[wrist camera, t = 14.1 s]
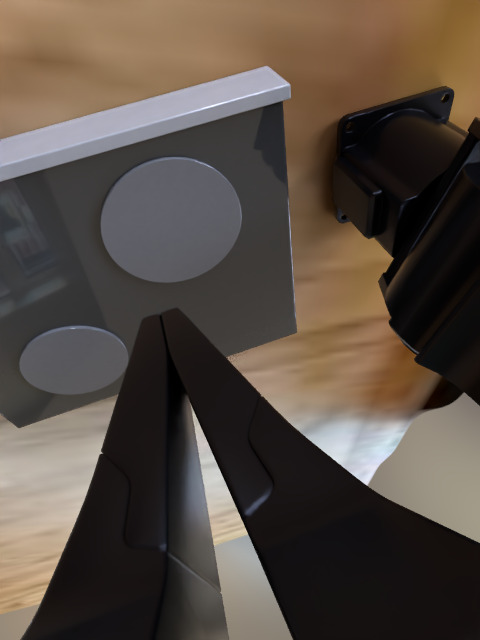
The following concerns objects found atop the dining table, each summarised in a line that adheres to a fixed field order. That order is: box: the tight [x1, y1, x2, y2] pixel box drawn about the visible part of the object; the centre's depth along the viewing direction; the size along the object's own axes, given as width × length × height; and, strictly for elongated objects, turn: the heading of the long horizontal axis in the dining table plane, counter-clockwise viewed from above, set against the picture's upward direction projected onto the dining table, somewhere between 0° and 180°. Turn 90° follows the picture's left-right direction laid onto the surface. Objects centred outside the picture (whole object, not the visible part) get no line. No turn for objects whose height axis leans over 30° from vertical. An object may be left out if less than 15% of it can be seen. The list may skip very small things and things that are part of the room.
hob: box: [0, 66, 297, 428], centre depth 23 cm, size 21×16×3 cm
